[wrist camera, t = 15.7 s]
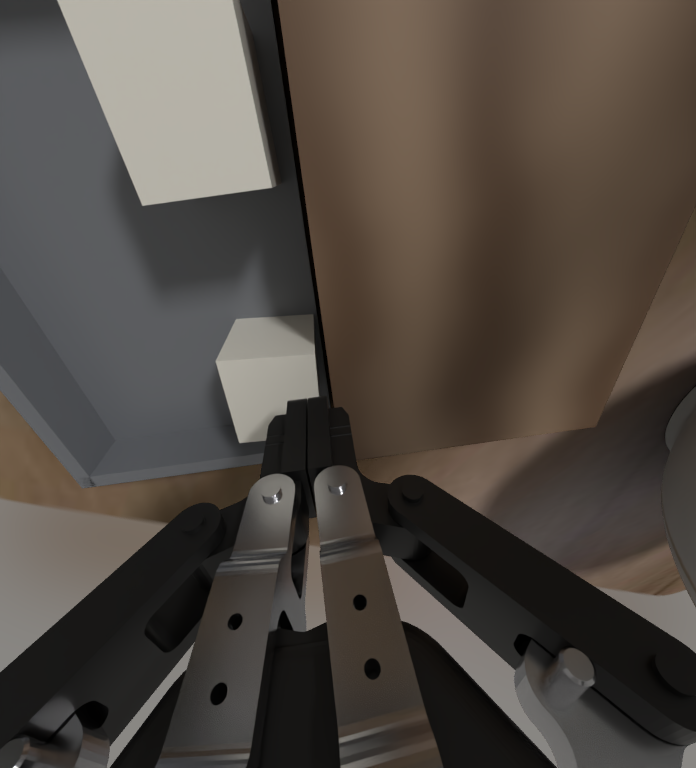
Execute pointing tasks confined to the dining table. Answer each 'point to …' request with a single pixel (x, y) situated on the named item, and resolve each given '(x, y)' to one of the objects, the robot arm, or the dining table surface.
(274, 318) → the off-white cube
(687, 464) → the decorative bowl
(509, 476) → the dining table surface
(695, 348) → the dining table surface
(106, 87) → the cream cube
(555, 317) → the walnut board
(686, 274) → the dining table surface
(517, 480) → the dining table surface
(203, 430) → the tray
